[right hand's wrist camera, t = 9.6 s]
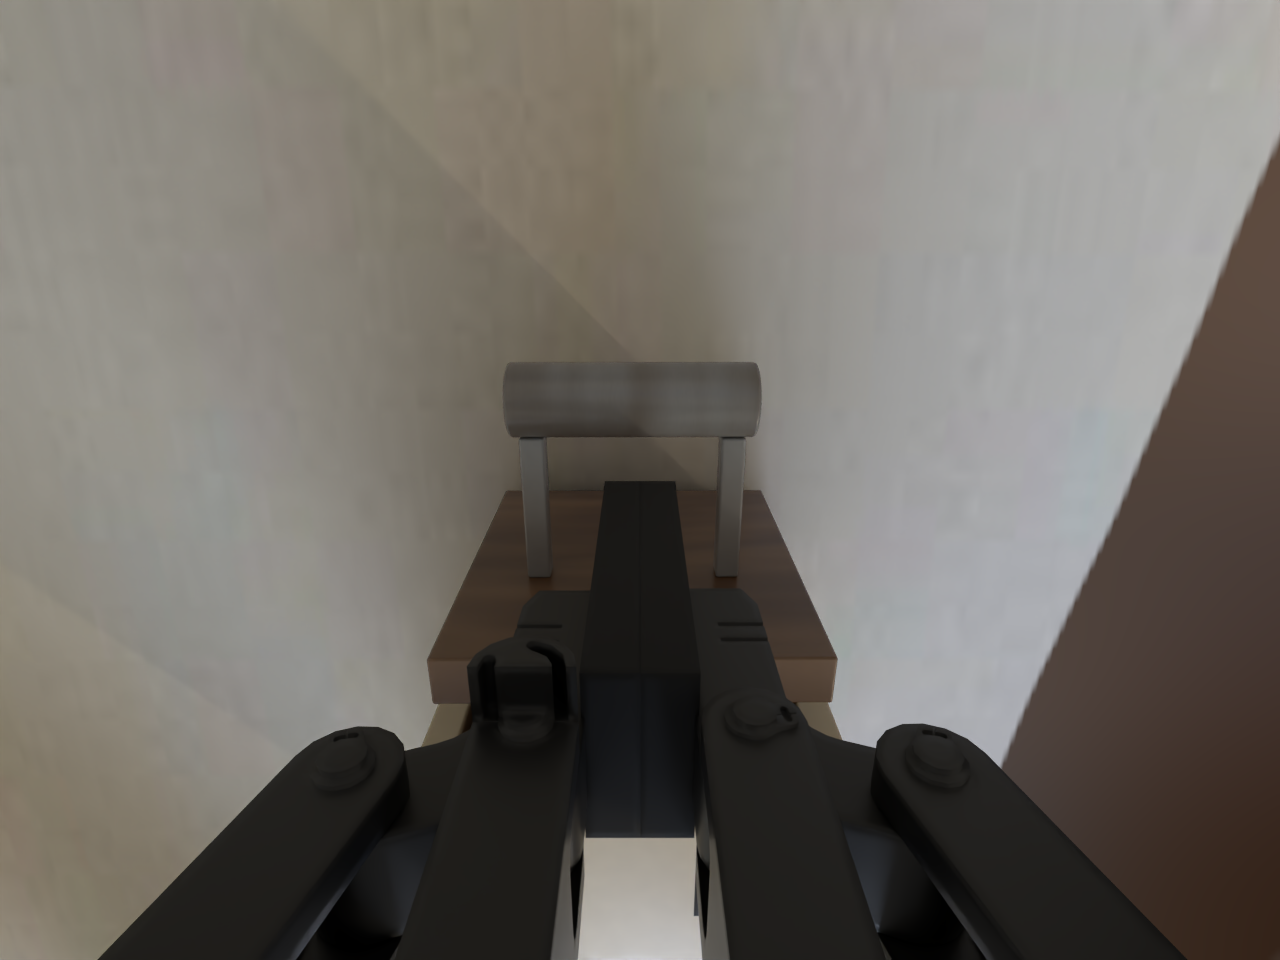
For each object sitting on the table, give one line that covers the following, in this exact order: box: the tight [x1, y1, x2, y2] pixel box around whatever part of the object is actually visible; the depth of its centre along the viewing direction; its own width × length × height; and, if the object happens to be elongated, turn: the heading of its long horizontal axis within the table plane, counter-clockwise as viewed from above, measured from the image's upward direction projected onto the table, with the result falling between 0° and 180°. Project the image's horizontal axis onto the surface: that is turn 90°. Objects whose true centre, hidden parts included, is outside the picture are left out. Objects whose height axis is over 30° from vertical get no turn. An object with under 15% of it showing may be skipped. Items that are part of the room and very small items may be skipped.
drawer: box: [427, 362, 837, 704], centre depth 21 cm, size 24×9×10 cm, turn 0°
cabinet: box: [422, 702, 842, 960], centre depth 23 cm, size 20×10×11 cm, turn 0°
